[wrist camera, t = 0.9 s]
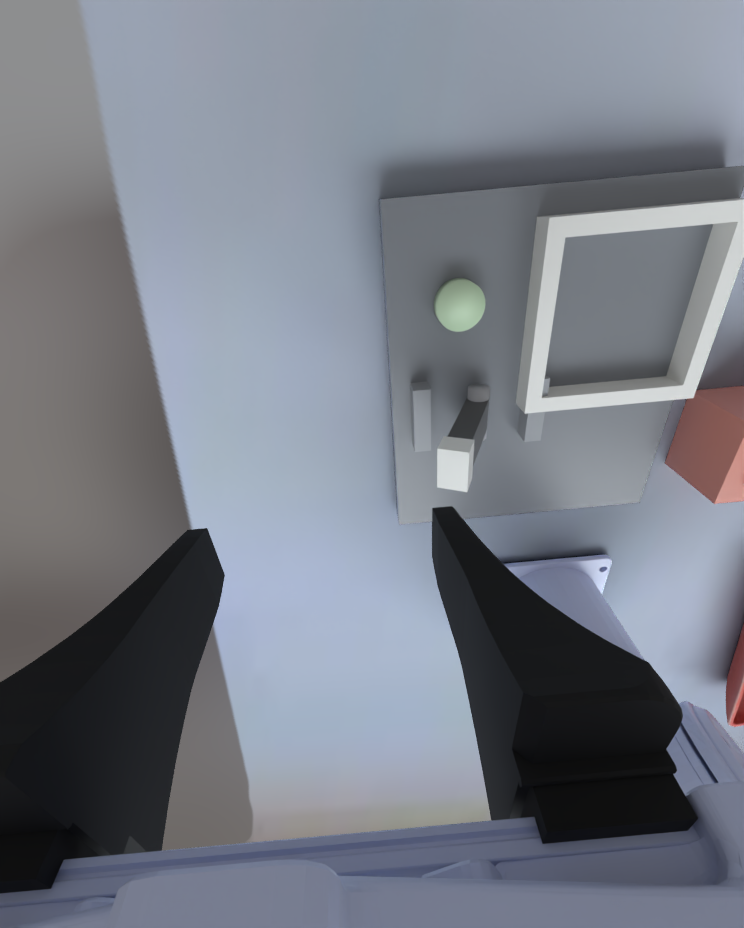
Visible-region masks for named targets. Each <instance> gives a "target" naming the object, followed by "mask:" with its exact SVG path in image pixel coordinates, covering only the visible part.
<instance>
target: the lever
mask: <svg viewBox="0 0 744 928" xmlns="http://www.w3.org/2000/svg"><path fill="white" fill-rule="evenodd" d="M489 396H490V386H488V385H486V384H472V385H470V386H468V396H467V399H466V401H465V403H464V405H463V407H462V409H461V411H460V413H459V415H458V417H457V419H456V421H455V423H454V424H453V426H452V428H451V430H450V432H449V434H448V436H444V437H443V439H442V441H441V442H440V444H439V446H438V448H437V487H438V488H444V489H450V490H456V491H462V492H468V489H469V486H470V483H471V480H472V473H473V466H474V463H475V460H476V458H477V455H478V452H479V449H480V447H481V444H482V441H484V440H485V439H486V436H487V423H488V409H489Z"/></svg>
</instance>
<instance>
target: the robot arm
mask: <svg viewBox="0 0 744 928" xmlns="http://www.w3.org/2000/svg"><path fill="white" fill-rule="evenodd" d="M432 558H433V563H434V569H435V574H436V579H437V585H438V588H439V592H440V595H441V598H442V601H443V605H444V608H445V611H446V614H447V618H448V621H449V624H450V627H451V630H452V634H453V637H454V640H455V643H456V647H457V650H458V653H459V657H460V661H461V665H462V669H463V674H464V679H465V684H466V688H467V693H468V698H469V703H470V708H471V713H472V718H473V723H474V728H475V733H476V738H477V744H478V749H479V754H480V759H481V765H482V770H483V775H484V781H485V787H486V792H487V798H488V803H489V809H490V815H491V820H492V821H482V822H471V823H460V824H449V825H438V826H427V827H416V828H405V829H394V830H383V831H372V832H361V833H351V834H340V835H329V836H318V837H307V838H296V839H285V840H274V841H263V842H252V843H241V844H230V845H220V846H208V847H197V848H186V849H176V850H164V851H162V844H163V837H164V830H165V823H166V817H167V810H168V803H169V797H170V792H171V786H172V779H173V774H174V769H175V763H176V758H177V753H178V748H179V743H180V737H181V733H182V728H183V724H184V719H185V715H186V710H187V706H188V702H189V697H190V692H191V689H192V686H193V682H194V679H195V675H196V672H197V669H198V666H199V663H200V660H201V658H202V655H203V652H204V649H205V646H206V642H207V640H208V637H209V634H210V631H211V628H212V625H213V622H214V619H215V616H216V613H217V610H218V607H219V602H220V597H221V593H222V587H223V581H224V576H225V575H224V572H223V569H222V567H221V564H220V561H219V559H218V556H217V553H216V551H215V548H214V545H213V543H212V540H211V537H210V535H209V532H208V529H207V528H205V529H194V530H187V531H186V532H185V533H184V534H183V535H182V536H181V537H180V538H179V539H178V540H177V541H176V542H175V543H174V544H173V545H172V546H171V547H170V548H169V549H168V550H167V551H165V552H164V553H163V554H162V556H161V557H160V558H158V559H157V560H156V561H155V562H154V563H153V564H152V565H151V566H150V567H149V568H148V569H147V570H146V571H145V572H144V573H143V574H142V575H141V576H140V577H139V578H138V579H137V580H136V581H135V582H134V583H133V584H131V585H130V586H129V587H128V588H127V589H126V590H125V591H124V592H122V593H121V594H120V595H119V596H118V597H117V598H116V599H115V600H114V601H113V602H111V603H110V604H109V605H108V606H107V607H106V608H104V609H103V610H102V611H101V612H100V613H98V614H97V615H96V616H95V617H94V618H92V619H91V620H90V621H89V622H87V623H86V624H85V625H84V626H82V627H81V628H80V629H78V630H77V631H76V632H74V633H73V634H72V635H71V636H69V637H68V638H66V639H65V640H63V641H62V642H61V643H59V644H58V645H56V646H55V647H54V648H52V649H51V650H49V651H48V652H46V653H45V654H43V655H42V656H40V657H39V658H38V659H36V660H35V661H33V662H32V663H30V664H29V665H27V666H26V667H24V668H23V669H21V670H19V671H18V672H16V673H15V674H13V675H12V676H10V677H8V678H7V679H5V680H4V681H2V682H0V928H744V753H743V752H742V751H741V749H740V748H739V747H738V746H737V744H736V743H735V742H734V740H733V739H732V738H731V737H730V735H729V734H728V733H727V732H726V731H725V729H724V728H723V727H722V726H721V725H720V723H719V722H718V721H717V720H716V719H715V718H714V717H713V715H712V714H711V713H710V712H708V711H707V710H705V709H703V708H700V707H698V706H694V705H693V704H691V703H690V702H687V701H684V702H682V703H679V704H678V702H677V701H676V699H675V698H674V696H673V695H672V693H671V692H670V690H669V689H668V687H667V686H666V684H665V683H664V682H663V680H662V679H661V678H660V677H659V675H658V674H657V673H656V672H655V670H654V669H653V668H652V666H651V665H650V664H649V663H648V662H647V661H645V660H644V659H643V657H642V656H641V654H640V652H639V651H638V649H637V648H636V646H635V645H634V643H633V642H632V640H631V639H630V637H629V635H628V634H627V632H626V631H625V629H624V628H623V626H622V625H621V623H620V622H619V620H618V619H617V617H616V615H615V614H614V612H613V611H612V609H611V608H610V606H609V605H608V603H607V602H606V600H605V598H604V597H603V595H602V593H603V590H604V587H605V584H606V580H607V577H608V574H609V571H610V568H611V565H612V560H611V558H610V557H609V556H608V555H594V556H583V557H572V558H561V559H550V560H540V561H529V562H518V563H507V564H503V563H502V562H501V561H500V560H499V559H498V558H497V557H496V556H495V555H494V554H493V553H492V552H491V551H490V550H489V549H488V548H487V547H486V546H485V545H484V544H483V542H482V541H481V540H480V539H479V538H478V537H477V536H476V535H475V533H474V532H473V531H472V530H471V529H470V527H469V526H468V525H467V524H466V522H465V521H464V520H463V519H462V517H461V516H460V515H459V513H458V512H457V511H456V509H455V508H454V507H452V506H448V507H437V508H432Z"/></svg>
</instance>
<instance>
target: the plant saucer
mask: <svg viewBox="0 0 744 928" xmlns="http://www.w3.org/2000/svg"><path fill="white" fill-rule="evenodd" d="M726 714H727V722H728V725H730V726H734V727H736V726H742V725H744V623H743V627H742V630H741V633H740V637H739V640H738V644H737V647H736V650H735V653H734V657H733V660H732V663H731V666H730V670H729V673H728V677H727V685H726Z"/></svg>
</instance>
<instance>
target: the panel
mask: <svg viewBox="0 0 744 928" xmlns="http://www.w3.org/2000/svg"><path fill="white" fill-rule="evenodd" d="M743 187H744V166H736V167H725V168H714V169H703V170H692V171H681V172H671V173H660V174H649V175H638V176H627V177H616V178H606V179H595V180H584V181H573V182H562V183H551V184H541V185H530V186H519V187H508V188H497V189H486V190H476V191H465V192H454V193H443V194H432V195H421V196H411V197H400V198H389V199H379V210H380V227H381V244H382V261H383V279H384V296H385V313H386V330H387V347H388V364H389V381H390V398H391V415H392V432H393V449H394V466H395V483H396V500H397V514H398V520H399V525H402V524H413V523H424V522H432V508H437V507H448V506H452V507H454V508H455V509H456V511H457V512H458V513H459V515H460V516H461V517H462V519H467V518H478V517H489V516H500V515H511V514H522V513H533V512H543V511H554V510H565V509H576V508H587V507H598V506H609V505H620V504H630V503H640V500H641V497H642V494H643V491H644V488H645V485H646V482H647V479H648V476H649V473H650V470H651V467H652V464H653V461H654V458H655V454H656V451H657V448H658V445H659V442H660V439H661V436H662V433H663V430H664V427H665V424H666V421H667V418H668V415H669V412H670V409H671V406H672V403H673V400H679V399H689V398H694V395H695V392H696V389H697V387H698V384H699V381H700V378H701V375H702V373H703V370H704V367H705V364H706V361H707V359H708V356H709V353H710V350H711V347H712V344H713V342H714V339H715V336H716V333H717V330H718V328H719V325H720V322H721V319H722V316H723V314H724V311H725V308H726V305H727V302H728V300H729V297H730V294H731V291H732V288H733V285H734V283H735V280H736V277H737V274H738V271H739V269H740V266H741V263H742V260H743V257H744V198H740V197H741V194H742V190H743ZM472 384H486V385H488V386H490V396H489V409H488V423H487V436H486V439H485V440H484V441H482V444H481V447H480V449H479V452H478V455H477V458H476V460H475V463H474V466H473V473H472V480H471V483H470V486H469V489H468V492H462V491H456V490H450V489H444V488H438V487H437V448H438V446H439V444H440V442H441V441H442V439H443V437H444V436H448V434H449V432H450V430H451V428H452V426H453V424H454V423H455V421H456V419H457V417H458V415H459V413H460V411H461V409H462V407H463V405H464V403H465V401H466V399H467V396H468V386H470V385H472Z"/></svg>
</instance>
